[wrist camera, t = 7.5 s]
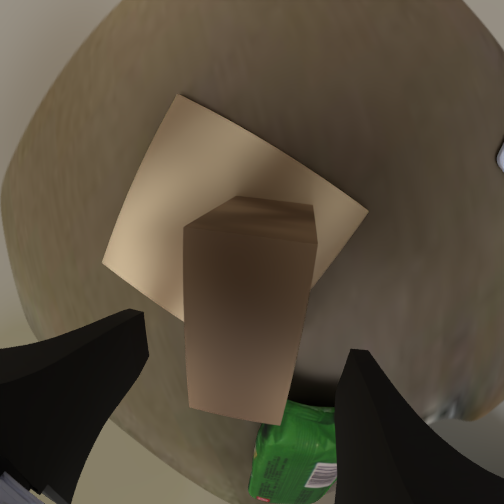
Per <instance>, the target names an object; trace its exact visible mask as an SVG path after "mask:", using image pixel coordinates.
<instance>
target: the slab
mask: <svg viewBox="0 0 504 504" xmlns="http://www.w3.org/2000/svg"><path fill="white" fill-rule="evenodd" d="M317 248H318V240H317V232H316V224H315V216H314V209H313V205H310V204H302V203H294V202H287V201H278V200H270V199H261V198H252V197H243V196H235V197H233V198H231V199H230V200H228V201H226V202H224V203H223V204H221V205H219V206H218V207H216V208H214V209H212V210H211V211H209V212H207V213H206V214H204V215H202V216H201V217H199V218H197V219H196V220H194V221H192V222H191V223H189V224H187V225H186V226H184V227H183V305H184V333H185V354H186V370H187V384H188V397H189V407H191V408H195V409H198V410H202V411H206V412H211V413H215V414H219V415H224V416H228V417H233V418H238V419H243V420H248V421H254V422H260V423H266V424H272V425H279V426H280V425H281V421H282V417H283V413H284V409H285V405H286V401H287V397H288V393H289V389H290V385H291V381H292V376H293V372H294V368H295V363H296V359H297V354H298V350H299V345H300V340H301V336H302V331H303V326H304V321H305V316H306V311H307V305H308V300H309V295H310V289H311V284H312V278H313V272H314V266H315V260H316V254H317Z"/></svg>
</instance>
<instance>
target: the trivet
mask: <svg viewBox="0 0 504 504" xmlns="http://www.w3.org/2000/svg"><path fill="white" fill-rule="evenodd" d="M235 196H243V197H252V198H261V199H270V200H278V201H287V202H294V203H302V204H310V205H313V209H314V216H315V224H316V232H317V240H318V248H317V254H316V260H315V266H314V272H313V278H312V284H311V288H312V287H313V286H314V285H315V283H316V282H317V281H318V280H319V278H320V277H321V276H322V274H323V273H324V272H325V271H326V269H327V268H328V267H329V265H330V264H331V263H332V261H333V260H334V259H335V257H336V256H337V255H338V253H339V252H340V251H341V249H342V248H343V247H344V245H345V244H346V243H347V241H348V240H349V239H350V237H351V236H352V235H353V233H354V232H355V230H356V229H357V228H358V226H359V225H360V223H361V222H362V221H363V219H364V218H365V216H366V215H367V214H368V212H369V211H368V210H367V209H366V208H364V207H363V206H362V205H360V204H359V203H358V202H356V201H355V200H353V199H352V198H351V197H349V196H348V195H347V194H345V193H344V192H342V191H341V190H340V189H338V188H337V187H335V186H334V185H332V184H331V183H330V182H328V181H327V180H325V179H324V178H322V177H321V176H319V175H318V174H316V173H315V172H313V171H312V170H310V169H309V168H307V167H306V166H304V165H303V164H301V163H300V162H298V161H297V160H295V159H293V158H292V157H290V156H289V155H287V154H286V153H284V152H282V151H281V150H279V149H277V148H276V147H274V146H273V145H271V144H269V143H268V142H266V141H264V140H263V139H261V138H259V137H258V136H256V135H254V134H252V133H251V132H249V131H247V130H246V129H244V128H242V127H240V126H239V125H237V124H235V123H233V122H231V121H230V120H228V119H226V118H224V117H222V116H220V115H219V114H217V113H215V112H213V111H211V110H209V109H207V108H205V107H203V106H201V105H200V104H198V103H196V102H194V101H192V100H190V99H188V98H186V97H184V96H182V95H179V94H177V95H176V97H175V99H174V101H173V102H172V104H171V106H170V108H169V110H168V111H167V113H166V115H165V117H164V119H163V121H162V123H161V125H160V126H159V128H158V130H157V132H156V134H155V136H154V138H153V140H152V142H151V144H150V146H149V148H148V150H147V152H146V154H145V156H144V159H143V161H142V163H141V165H140V167H139V169H138V172H137V174H136V176H135V178H134V181H133V183H132V185H131V188H130V190H129V192H128V195H127V197H126V199H125V202H124V204H123V207H122V209H121V212H120V214H119V217H118V220H117V222H116V225H115V227H114V230H113V233H112V236H111V238H110V241H109V244H108V247H107V250H106V253H105V256H104V259H103V262H102V263H103V264H104V265H106V266H107V267H108V268H109V269H111V270H112V271H113V272H115V273H116V274H117V275H119V276H120V277H121V278H122V279H124V280H125V281H127V282H128V283H129V284H131V285H132V286H133V287H135V288H136V289H137V290H139V291H140V292H142V293H143V294H144V295H146V296H147V297H148V298H150V299H151V300H153V301H154V302H156V303H157V304H158V305H160V306H161V307H163V308H164V309H166V310H167V311H169V312H170V313H172V314H173V315H174V316H176V317H177V318H179V319H180V320H182V321H183V322H184V305H183V227H184V226H186V225H187V224H189V223H191V222H192V221H194V220H196V219H197V218H199V217H201V216H202V215H204V214H206V213H207V212H209V211H211V210H212V209H214V208H216V207H218V206H219V205H221V204H223V203H224V202H226V201H228V200H230V199H231V198H233V197H235ZM310 290H311V289H310Z"/></svg>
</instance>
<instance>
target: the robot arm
mask: <svg viewBox="0 0 504 504" xmlns="http://www.w3.org/2000/svg"><path fill="white" fill-rule="evenodd" d="M497 163H498V165H499V167H500V168H501V169H502V171H503V172H504V143H503V145H502V147H501V149H500V151H499V153H498V156H497ZM148 357H149V351H148V344H147V337H146V329H145V320H144V312H141V311H137V310H133V309H127V310H123V311H121V312H118V313H115V314H113V315H110V316H108V317H106V318H103V319H101V320H98V321H96V322H94V323H91V324H89V325H86V326H84V327H81V328H79V329H76V330H73V331H71V332H68V333H65V334H63V335H60V336H57V337H54V338H51V339H47V340H44V341H40V342H36V343H33V344H28V345H23V346H16V347H11V348H4V349H0V504H45V503H43V502H42V501H40V500H39V499H38V498H37V497H35V496H34V495H33V494H31V493H30V492H29V490H30V489H32V490H33V491H35V492H36V493H37V494H39V495H40V494H41V493H42V494H44V495H45V496H46V497H48V498H49V499H51V500H52V501H54V502H55V503H56V504H71V502H72V498H73V495H74V491H75V489H76V485H77V482H78V480H79V477H80V474H81V472H82V469H83V467H84V464H85V462H86V460H87V458H88V455H89V453H90V451H91V449H92V447H93V445H94V443H95V441H96V439H97V437H98V435H99V433H100V431H101V430H102V428H103V426H104V424H105V423H106V421H107V420H108V418H109V417H110V415H111V414H112V413H113V411H114V410H115V409H116V407H117V406H118V404H119V403H120V402H121V400H122V399H123V398H124V396H125V395H126V393H127V392H128V391H129V389H130V388H131V387H132V385H133V384H134V382H135V381H136V380H137V378H138V377H139V375H140V373H141V371H142V369H143V367H144V365H145V363H146V361H147V359H148ZM334 423H335V439H336V457H337V485H336V495H335V504H504V478H501V477H499V476H497V475H495V474H493V473H491V472H489V471H487V470H485V469H484V468H482V467H480V466H479V465H477V464H476V463H474V462H472V461H471V460H469V459H468V458H466V457H465V456H463V455H462V454H461V453H459V452H458V451H457V450H455V449H454V448H453V447H452V446H450V445H449V444H448V443H447V442H445V441H444V440H443V439H442V438H441V437H440V436H439V435H437V434H436V433H435V432H434V431H433V430H432V429H431V428H430V427H429V426H428V425H427V424H426V423H425V422H424V421H423V420H422V419H421V418H420V417H419V416H418V415H417V413H416V412H415V411H414V410H413V409H412V408H411V406H410V405H409V404H408V403H407V402H406V401H405V399H404V398H403V397H402V396H401V394H400V393H399V392H398V391H397V389H396V388H395V387H394V385H393V384H392V383H391V381H390V380H389V379H388V377H387V376H386V375H385V373H384V372H383V370H382V369H381V368H380V366H379V365H378V363H377V362H376V361H375V359H374V358H373V356H372V355H371V354H370V352H369V351H368V350H359V349H350V352H349V355H348V358H347V361H346V364H345V367H344V370H343V373H342V376H341V378H340V381H339V384H338V387H337V389H336V393H335V411H334Z"/></svg>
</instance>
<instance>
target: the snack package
mask: <svg viewBox="0 0 504 504" xmlns="http://www.w3.org/2000/svg"><path fill="white" fill-rule="evenodd" d="M334 411H335V407H317V406H309V405H305V404H301V403H297V402H294V401H291V400H288V399H287V401H286V405H285V409H284V413H283V417H282V421H281V425H280V426H279V425H272V424H266V423H262V424H261V427H260V429H259V431H258V435H257V438H256V444H255V449H254V456H253V462H252V472H251V476H250V480H249V485H248V491H249V494H250V495H251V496H252V497H253V498H255V499H257V500H260V501H264V502H269V503H277V504H311V503H314V502H316V501H318V500H319V499H320V498H321V497H322V496H323V495H324V494H325V493H326V492H327V491H328V489H329V488H330V487H331V485H332V484H333V483H334V482H335V481H336V480H337V457H336V439H335V423H334Z"/></svg>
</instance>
